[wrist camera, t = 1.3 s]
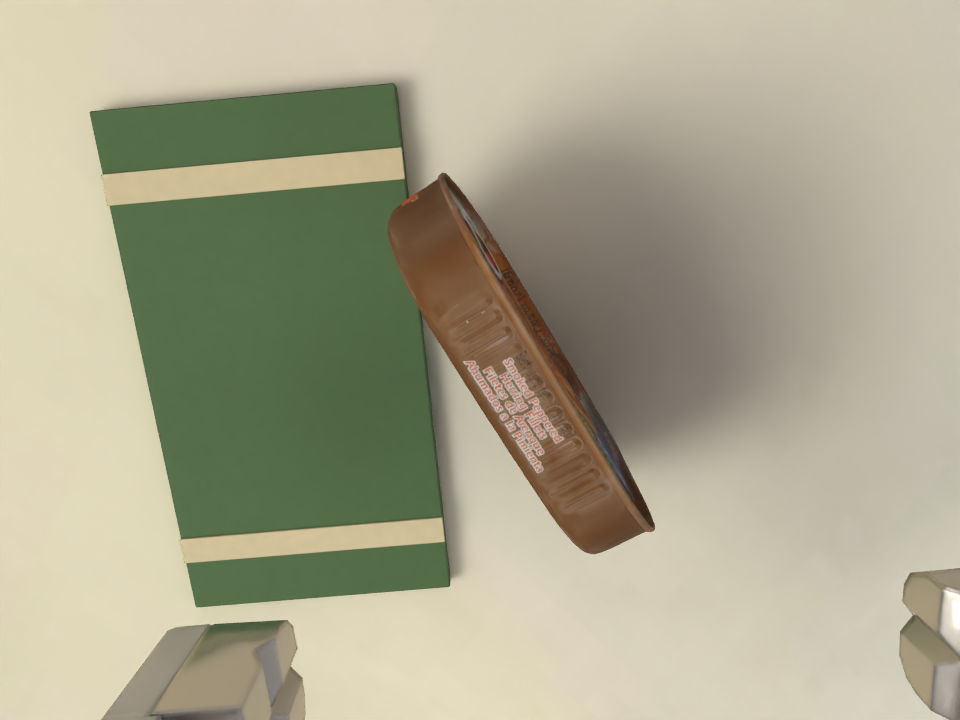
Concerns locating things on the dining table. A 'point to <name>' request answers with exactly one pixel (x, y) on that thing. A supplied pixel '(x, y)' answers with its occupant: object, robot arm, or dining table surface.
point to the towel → (280, 340)
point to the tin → (515, 367)
